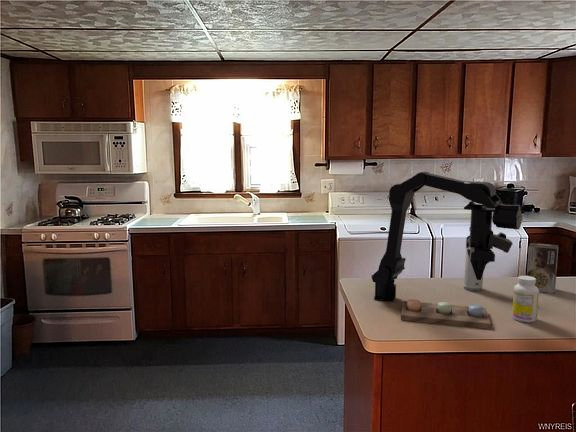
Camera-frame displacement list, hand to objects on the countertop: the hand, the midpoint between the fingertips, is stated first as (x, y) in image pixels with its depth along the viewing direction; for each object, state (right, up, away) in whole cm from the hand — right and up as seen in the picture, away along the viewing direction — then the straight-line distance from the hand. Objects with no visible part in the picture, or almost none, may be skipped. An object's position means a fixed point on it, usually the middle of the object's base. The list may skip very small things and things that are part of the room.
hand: (477, 277), depth 137 cm
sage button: (-9, -11, +4) cm, 15 cm away
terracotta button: (-17, -11, +7) cm, 21 cm away
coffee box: (+34, -8, +29) cm, 46 cm away
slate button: (0, -11, +2) cm, 12 cm away
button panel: (-9, -13, +5) cm, 16 cm away
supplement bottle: (+15, -13, +2) cm, 20 cm away
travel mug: (+11, -8, +30) cm, 33 cm away
